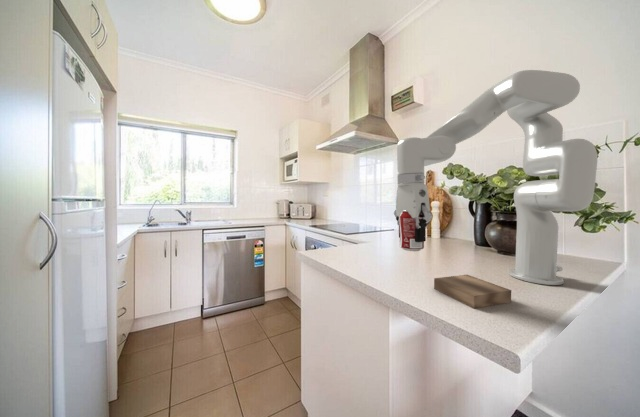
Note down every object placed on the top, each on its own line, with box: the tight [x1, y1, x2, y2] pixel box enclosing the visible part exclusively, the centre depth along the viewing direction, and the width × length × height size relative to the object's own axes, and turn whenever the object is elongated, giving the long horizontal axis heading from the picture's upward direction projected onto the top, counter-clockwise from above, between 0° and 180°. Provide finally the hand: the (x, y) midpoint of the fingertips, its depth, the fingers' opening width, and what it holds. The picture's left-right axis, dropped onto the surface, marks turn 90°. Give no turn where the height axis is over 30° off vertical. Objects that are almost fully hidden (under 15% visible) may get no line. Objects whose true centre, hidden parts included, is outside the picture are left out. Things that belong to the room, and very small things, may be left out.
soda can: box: [399, 211, 425, 252], centre depth 67 cm, size 7×7×12 cm
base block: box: [433, 274, 512, 309], centre depth 59 cm, size 12×12×3 cm
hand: (411, 239), depth 67 cm, fingers closed on soda can, 6 cm apart
